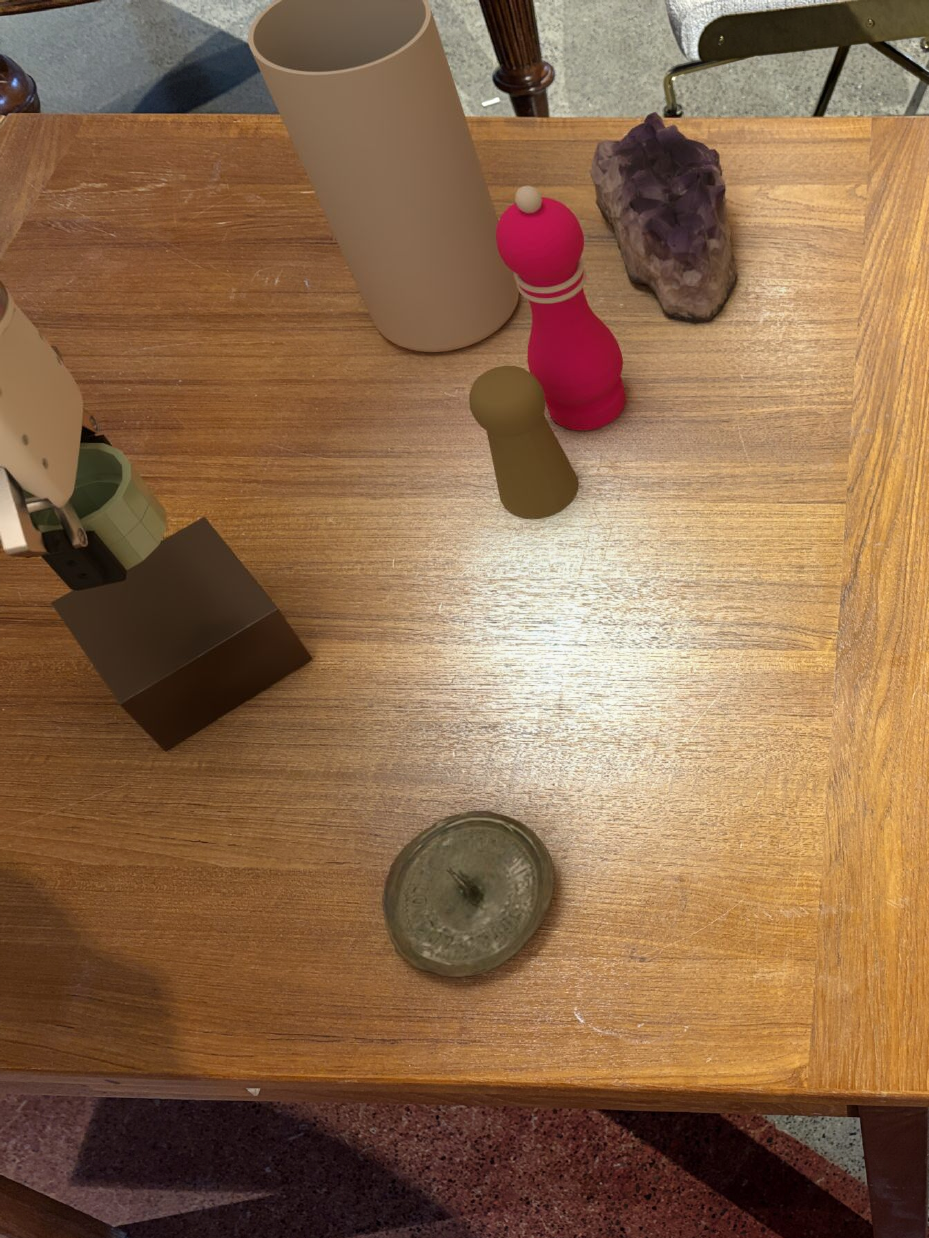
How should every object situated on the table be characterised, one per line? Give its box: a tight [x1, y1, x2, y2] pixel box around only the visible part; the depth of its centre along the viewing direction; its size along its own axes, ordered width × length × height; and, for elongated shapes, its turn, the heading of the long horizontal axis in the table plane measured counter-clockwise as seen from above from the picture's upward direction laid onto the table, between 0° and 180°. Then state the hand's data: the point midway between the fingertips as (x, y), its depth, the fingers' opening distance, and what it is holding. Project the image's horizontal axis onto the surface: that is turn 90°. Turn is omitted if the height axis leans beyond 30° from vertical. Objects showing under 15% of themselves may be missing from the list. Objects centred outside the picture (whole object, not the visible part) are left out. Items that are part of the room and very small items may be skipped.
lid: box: [381, 810, 555, 979], centre depth 77 cm, size 11×10×5 cm
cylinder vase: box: [247, 0, 520, 353], centre depth 99 cm, size 12×12×25 cm
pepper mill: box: [496, 185, 627, 432], centre depth 95 cm, size 7×7×20 cm
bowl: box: [22, 443, 168, 570], centre depth 77 cm, size 7×7×5 cm
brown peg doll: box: [468, 365, 580, 520], centre depth 93 cm, size 6×6×11 cm
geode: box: [589, 111, 739, 324], centre depth 110 cm, size 20×12×10 cm, turn 22°
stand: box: [50, 516, 314, 752], centre depth 87 cm, size 11×11×6 cm
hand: (104, 532), depth 78 cm, fingers closed on bowl, 7 cm apart
